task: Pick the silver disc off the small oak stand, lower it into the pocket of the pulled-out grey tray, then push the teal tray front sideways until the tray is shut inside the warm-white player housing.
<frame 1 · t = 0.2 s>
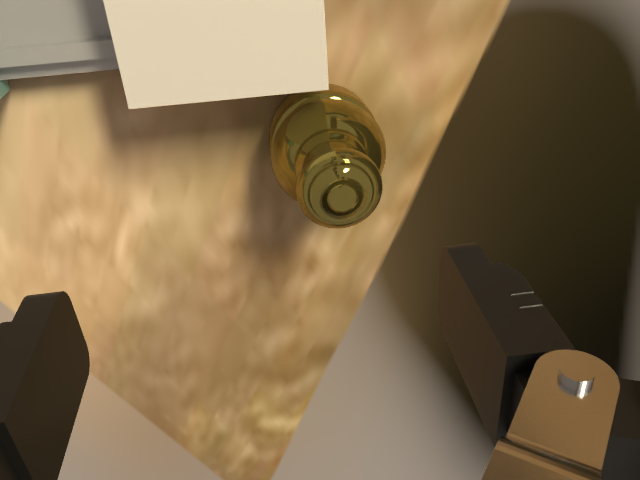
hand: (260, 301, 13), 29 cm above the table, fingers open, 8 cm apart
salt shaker: (321, 133, 42), on the table
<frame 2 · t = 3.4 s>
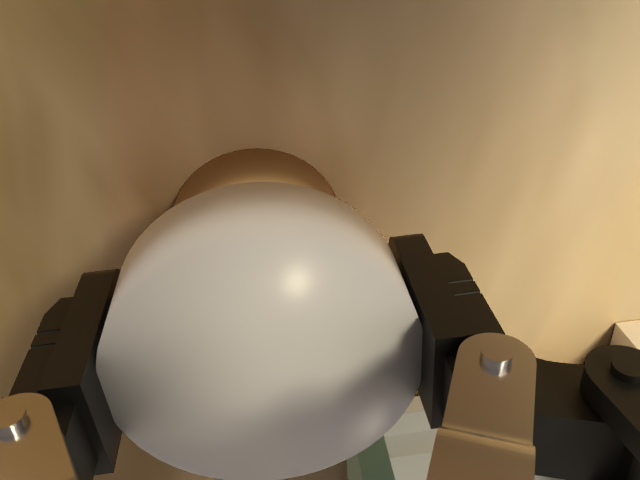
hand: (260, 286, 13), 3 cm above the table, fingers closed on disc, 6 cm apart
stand: (257, 227, 16), on the table
disc: (262, 309, 13), point 3 cm above the table, touching gripper, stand
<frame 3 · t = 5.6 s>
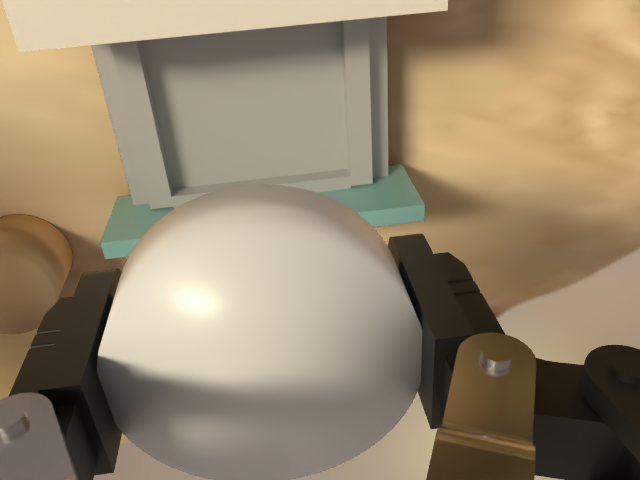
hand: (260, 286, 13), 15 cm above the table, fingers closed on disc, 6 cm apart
tray: (249, 98, 24), point 3 cm above the table, slide at 8.0 cm
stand: (25, 253, 30), on the table
disc: (262, 311, 13), point 16 cm above the table, touching gripper
when the fingers open (3 cm above the table, at t = 8.3 s): disc drops 2 cm, resting on tray.
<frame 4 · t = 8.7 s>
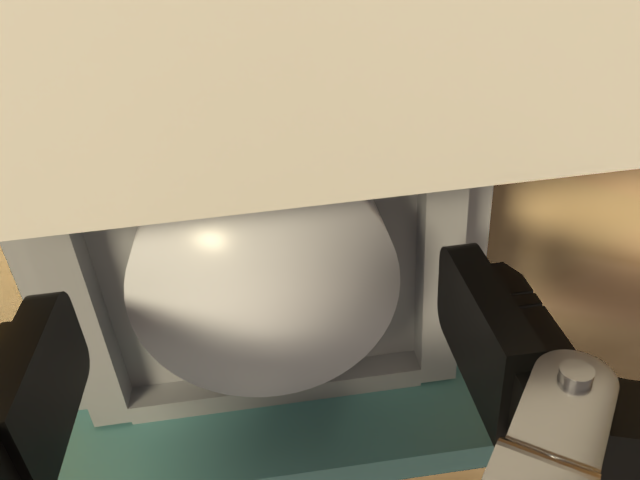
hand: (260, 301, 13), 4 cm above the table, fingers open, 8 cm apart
tray: (258, 269, 14), point 3 cm above the table, slide at 8.0 cm, touching disc
disc: (262, 249, 15), point 2 cm above the table, touching tray
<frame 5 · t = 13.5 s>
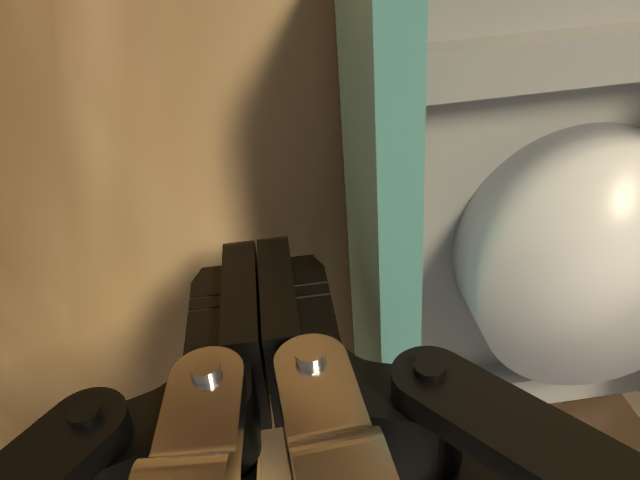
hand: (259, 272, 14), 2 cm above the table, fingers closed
tray: (596, 255, 14), point 2 cm above the table, slide at 7.6 cm, touching disc, gripper
disc: (570, 238, 15), point 1 cm above the table, touching tray
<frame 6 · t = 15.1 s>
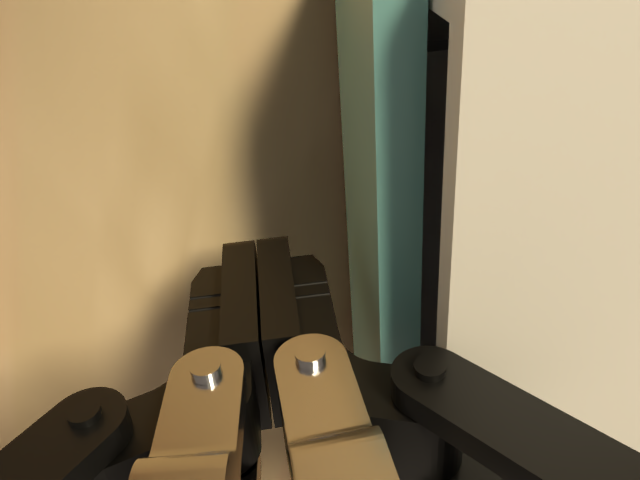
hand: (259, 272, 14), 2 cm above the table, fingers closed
tray: (595, 255, 14), point 2 cm above the table, slide at 0.0 cm, touching disc, gripper
player housing: (569, 202, 16), on the table
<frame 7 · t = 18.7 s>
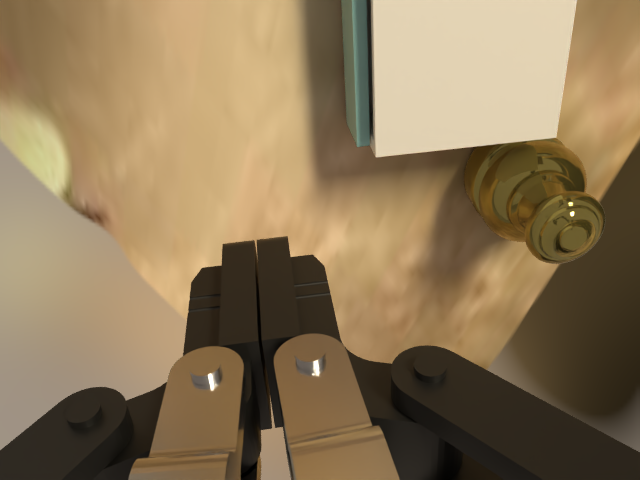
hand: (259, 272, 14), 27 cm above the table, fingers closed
tray: (438, 16, 35), point 3 cm above the table, slide at 0.0 cm, touching disc
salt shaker: (509, 168, 45), on the table
player housing: (436, 7, 38), on the table
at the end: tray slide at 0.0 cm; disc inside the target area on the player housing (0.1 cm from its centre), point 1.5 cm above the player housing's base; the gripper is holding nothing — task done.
